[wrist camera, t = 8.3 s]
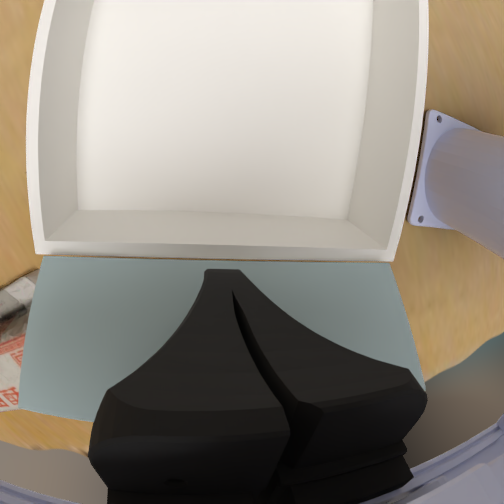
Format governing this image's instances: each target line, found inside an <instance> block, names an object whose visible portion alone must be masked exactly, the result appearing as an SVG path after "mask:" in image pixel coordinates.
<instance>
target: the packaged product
mask: <svg viewBox="0 0 504 504" xmlns="http://www.w3.org/2000/svg"><path fill="white" fill-rule="evenodd" d="M39 271H40V269H37V270H35V271H33V272H31V273H29V274H27V275H25V276H23V277H21V278H19V279H18V280H16V281H15V282H13V283H12V284H10V285H8V286H5V287H3V288H1V289H0V412H4V411H12V410H18V409H21V408H18V398H19V384H20V373H21V364H22V356H23V348H24V342H25V335H26V330H27V324H28V319H29V313H30V309H31V304H32V299H33V295H34V290H35V286H36V282H37V278H38V274H39Z"/></svg>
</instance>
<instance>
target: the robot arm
mask: <svg viewBox="0 0 504 504" xmlns="http://www.w3.org/2000/svg"><path fill="white" fill-rule="evenodd" d="M437 116H438V121H437ZM419 217H420V219H419V220H418V218H419ZM407 220H408V222H409V223H410V224H412V225H415V226H425V227H434V228H443V229H452V230H457V231H459V232H460V233H462V234H464V235H465V236H467V237H469V238H471V239H472V240H474V241H476V242H477V243H479V244H481V245H482V246H484V247H485V248H487V249H489V250H490V251H492V252H493V253H495V254H497V255H498V256H500V257H501V258H503V259H504V136H499V135H495V134H490V133H486V132H482V131H480V130H478V129H476V128H474V127H472V126H470V125H468V124H466V123H464V122H461V121H459V120H457V119H455V118H453V117H450V116H448V115H446V114H443V113H441V112H439V111H436V110H431V109H430V110H428V111H427V112H426V118H425V126H424V133H423V140H422V146H421V153H420V159H419V164H418V170H417V175H416V180H415V185H414V190H413V195H412V199H411V204H410V208H409V213H408V218H407ZM426 404H427V394H426V392H425V391H424V390H423V388H422V387H421V385H420V384H419V383H418V381H417V380H416V378H415V377H414V375H413V374H412V373H411V371H410V370H409V369H408V368H404V367H400V366H397V365H393V364H390V363H386V362H383V361H379V360H376V359H373V358H370V357H367V356H365V355H362V354H359V353H357V352H354V351H352V350H349V349H347V348H345V347H343V346H340V345H338V344H336V343H334V342H332V341H330V340H328V339H326V338H325V337H323V336H321V335H319V334H317V333H315V332H314V331H312V330H311V329H309V328H307V327H306V326H304V325H303V324H301V323H300V322H298V321H297V320H295V319H294V318H292V317H291V316H290V315H288V314H287V313H286V312H285V311H283V310H282V309H281V308H280V307H278V306H277V305H276V304H275V303H274V302H272V301H271V300H270V299H269V298H268V297H267V296H266V295H265V294H264V293H263V292H261V291H260V290H259V289H258V288H257V287H256V286H255V285H254V284H253V283H252V282H251V281H250V280H249V279H248V278H247V277H246V275H245V274H244V273H243V272H242V271H241V270H239V269H207V270H205V271H204V280H203V283H202V286H201V289H200V291H199V293H198V295H197V298H196V300H195V302H194V303H193V305H192V307H191V309H190V310H189V312H188V314H187V315H186V317H185V318H184V320H183V321H182V323H181V324H180V326H179V327H178V328H177V330H176V331H175V332H174V333H173V335H172V336H171V337H170V338H169V339H168V340H167V341H166V343H165V344H164V345H163V346H162V347H161V348H160V349H159V350H158V351H157V352H156V353H155V354H154V355H153V356H152V357H150V358H149V359H148V360H147V361H146V362H145V363H144V364H142V365H141V366H140V367H139V368H138V369H137V370H135V371H134V372H133V373H131V374H130V375H128V376H127V377H126V378H124V379H123V380H121V381H120V382H118V383H117V384H115V385H114V386H112V387H111V388H109V389H107V391H106V393H105V395H104V397H103V399H102V401H101V404H100V406H99V409H98V411H97V414H96V417H95V420H94V423H93V427H92V431H91V438H90V445H89V452H88V458H89V460H90V463H91V465H92V466H93V468H94V469H95V470H96V472H97V473H98V474H99V476H100V478H101V479H102V480H103V482H104V483H105V484H106V486H107V487H108V497H107V498H108V499H107V504H390V503H393V502H394V503H393V504H504V413H503V414H502V416H501V417H500V418H499V419H498V420H497V423H495V424H494V425H492V426H490V427H489V428H487V429H486V430H484V431H483V432H481V433H479V434H478V435H476V436H474V437H473V438H471V439H469V440H467V441H466V442H464V443H462V444H460V445H458V446H457V447H455V448H453V449H451V450H449V451H447V452H445V453H443V454H441V455H440V456H437V457H435V458H433V459H431V460H429V461H427V462H425V463H422V464H420V465H418V466H416V467H413V468H411V469H409V467H408V465H407V463H406V461H405V459H404V457H403V455H404V454H405V453H406V452H407V448H406V446H405V444H404V442H403V441H402V439H403V438H404V437H405V436H406V435H407V433H408V432H409V431H410V430H411V429H412V427H413V426H414V425H415V423H416V422H417V421H418V420H419V418H420V417H421V415H422V414H423V412H424V410H425V407H426ZM397 500H398V501H397ZM395 501H396V502H395ZM0 504H81V503H75V502H71V501H67V500H63V499H59V498H55V497H51V496H47V495H44V494H41V493H37V492H34V491H31V490H28V489H25V488H21V487H19V486H16V485H13V484H10V483H8V482H5V481H2V480H0Z"/></svg>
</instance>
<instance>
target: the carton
mask: <svg viewBox="0 0 504 504" xmlns="http://www.w3.org/2000/svg"><path fill="white" fill-rule="evenodd" d="M428 37H429V19H428V0H45V1H44V4H43V8H42V12H41V16H40V21H39V25H38V30H37V35H36V40H35V46H34V51H33V58H32V65H31V72H30V81H29V91H28V103H27V123H26V166H27V185H28V198H29V209H30V218H31V226H32V233H33V240H34V246H35V252H36V254H53V255H86V256H123V257H163V258H207V259H257V260H317V261H393V260H394V257H395V253H396V250H397V246H398V242H399V239H400V235H401V231H402V227H403V223H404V219H405V215H406V210H407V206H408V202H409V197H410V192H411V187H412V182H413V177H414V172H415V167H416V161H417V155H418V149H419V143H420V136H421V129H422V121H423V113H424V104H425V93H426V81H427V66H428Z"/></svg>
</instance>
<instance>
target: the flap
mask: <svg viewBox="0 0 504 504" xmlns="http://www.w3.org/2000/svg"><path fill="white" fill-rule="evenodd" d="M207 269H239V270H241V271H242V272H243V273H244V274H245V275H246V277H247V278H248V279H249V280H250V281H251V282H252V283H253V284H254V285H255V286H256V287H257V288H258V289H259V290H260V291H261V292H263V293H264V294H265V295H266V296H267V297H268V298H269V299H270V300H271V301H272V302H274V303H275V304H276V305H277V306H278V307H280V308H281V309H282V310H283V311H285V312H286V313H287V314H288V315H290V316H291V317H292V318H294V319H295V320H297V321H298V322H300V323H301V324H303V325H304V326H306V327H307V328H309V329H311V330H312V331H314V332H315V333H317V334H319V335H321V336H323V337H325V338H326V339H328V340H330V341H332V342H334V343H336V344H338V345H340V346H343V347H345V348H347V349H349V350H352V351H354V352H357V353H359V354H362V355H365V356H367V357H370V358H373V359H376V360H379V361H383V362H386V363H390V364H393V365H397V366H400V367H404V368H408V369H409V370H410V371H411V373H412V374H413V375H414V377H415V378H416V380H417V381H418V383H419V384H420V385H421V387H422V388H423V390H424V391H425V390H426V388H425V384H424V379H423V375H422V371H421V366H420V362H419V358H418V354H417V351H416V347H415V343H414V339H413V336H412V332H411V329H410V325H409V322H408V318H407V315H406V312H405V308H404V305H403V302H402V299H401V296H400V293H399V290H398V287H397V284H396V281H395V278H394V275H393V272H392V269H391V266H390V264H389V263H346V262H272V261H217V260H171V259H130V258H94V257H62V256H43V260H42V263H41V267H40V271H39V274H38V278H37V282H36V286H35V290H34V295H33V299H32V304H31V309H30V313H29V319H28V324H27V330H26V335H25V342H24V348H23V356H22V364H21V373H20V384H19V398H18V408H21V409H25V410H29V411H33V412H38V413H43V414H48V415H53V416H58V417H64V418H70V419H76V420H82V421H90V422H94V420H95V417H96V414H97V411H98V409H99V406H100V404H101V401H102V399H103V397H104V395H105V393H106V391H107V389H109V388H111V387H112V386H114V385H115V384H117V383H118V382H120V381H121V380H123V379H124V378H126V377H127V376H128V375H130V374H131V373H133V372H134V371H135V370H137V369H138V368H139V367H140V366H141V365H142V364H144V363H145V362H146V361H147V360H148V359H149V358H150V357H152V356H153V355H154V354H155V353H156V352H157V351H158V350H159V349H160V348H161V347H162V346H163V345H164V344H165V343H166V341H167V340H168V339H169V338H170V337H171V336H172V335H173V333H174V332H175V331H176V330H177V328H178V327H179V326H180V324H181V323H182V321H183V320H184V318H185V317H186V315H187V314H188V312H189V310H190V309H191V307H192V305H193V303H194V302H195V300H196V298H197V295H198V293H199V291H200V289H201V286H202V283H203V280H204V271H205V270H207Z"/></svg>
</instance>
